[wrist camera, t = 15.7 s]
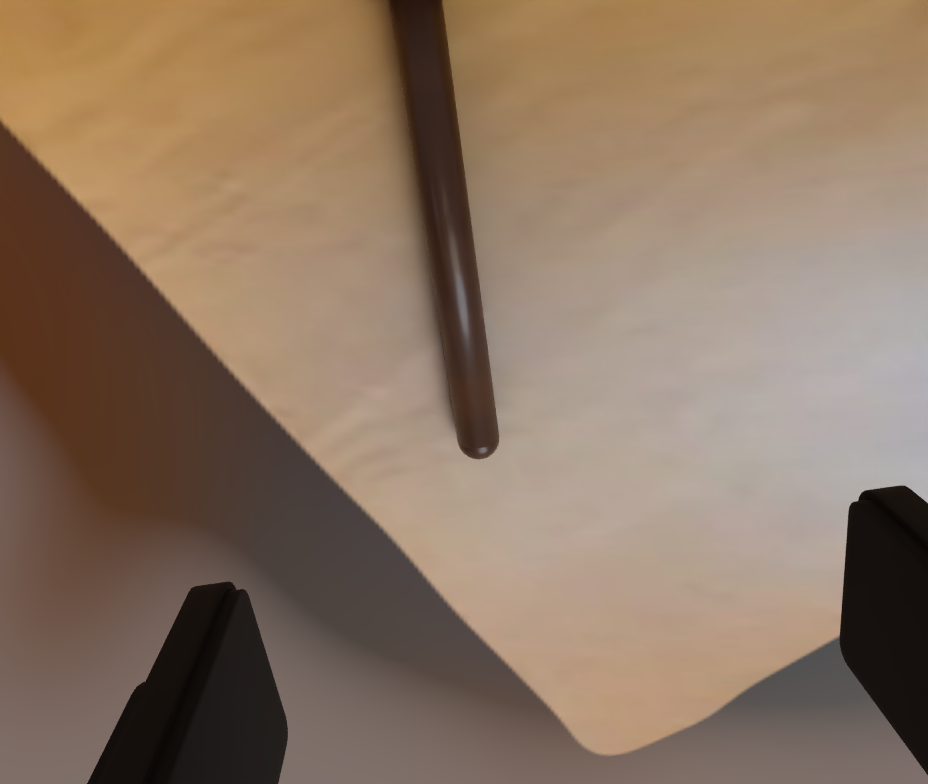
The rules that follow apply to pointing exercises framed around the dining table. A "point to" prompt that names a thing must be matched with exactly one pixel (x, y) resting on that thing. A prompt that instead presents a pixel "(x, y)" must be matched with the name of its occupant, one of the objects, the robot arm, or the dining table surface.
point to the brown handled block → (446, 217)
